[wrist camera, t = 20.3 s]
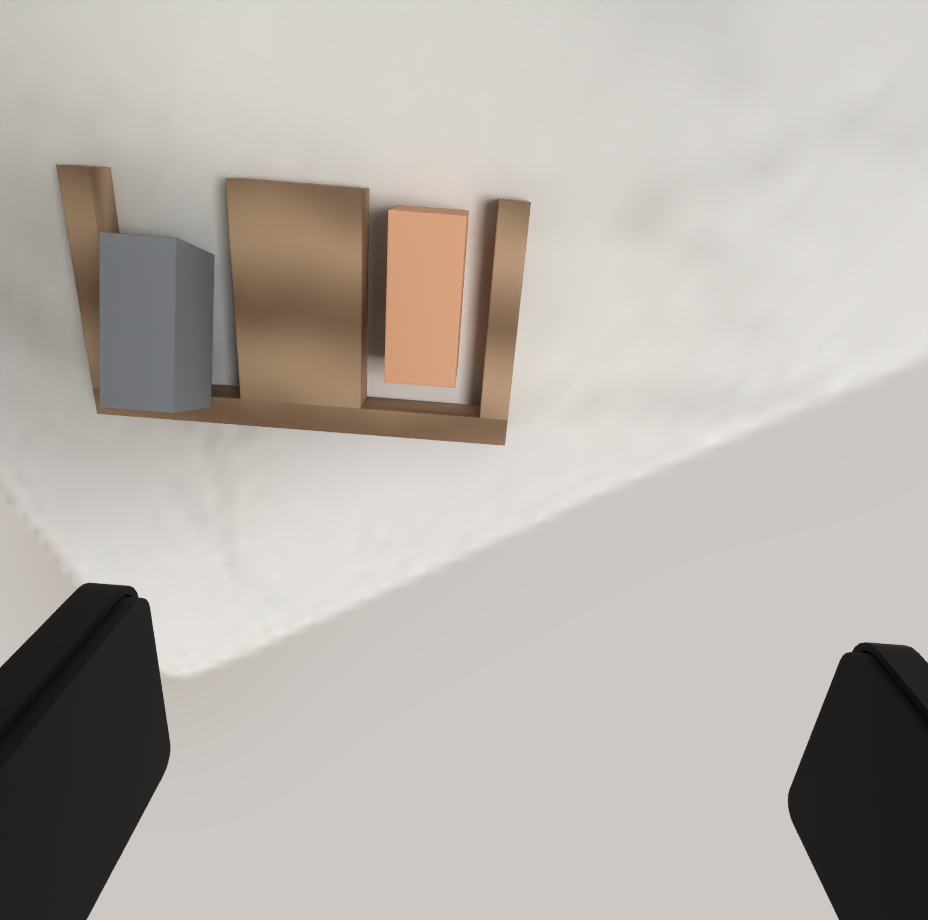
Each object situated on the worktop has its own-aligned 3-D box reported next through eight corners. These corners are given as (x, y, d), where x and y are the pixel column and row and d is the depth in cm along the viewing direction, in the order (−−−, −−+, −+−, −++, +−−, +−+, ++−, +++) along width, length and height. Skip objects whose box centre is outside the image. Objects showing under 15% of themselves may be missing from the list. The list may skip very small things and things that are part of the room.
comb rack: (80, 165, 32) (56, 164, 31) (528, 201, 33) (530, 202, 31) (116, 402, 38) (97, 413, 36) (503, 432, 38) (504, 445, 36)
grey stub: (147, 249, 34) (99, 232, 30) (214, 255, 34) (176, 238, 30) (146, 402, 35) (99, 407, 31) (210, 407, 35) (173, 412, 31)
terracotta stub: (400, 205, 33) (388, 209, 29) (468, 210, 33) (466, 215, 29) (395, 358, 36) (384, 382, 32) (458, 363, 36) (454, 387, 32)
